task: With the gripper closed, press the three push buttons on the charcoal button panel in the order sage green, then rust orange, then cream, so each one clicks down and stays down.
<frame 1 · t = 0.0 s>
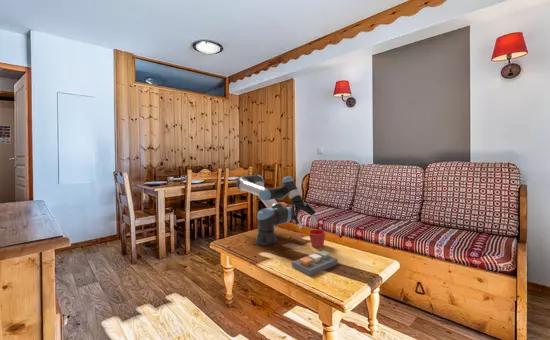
hand: (308, 226, 169), 15 cm above the table, fingers open, 13 cm apart
button panel: (315, 265, 147), on the table
flower pot: (317, 246, 177), on the table
sage button: (323, 255, 151), point 4 cm above the table, slide at 0.0 cm
rust button: (306, 261, 142), point 4 cm above the table, slide at 0.0 cm
cream button: (315, 258, 147), point 4 cm above the table, slide at 0.0 cm
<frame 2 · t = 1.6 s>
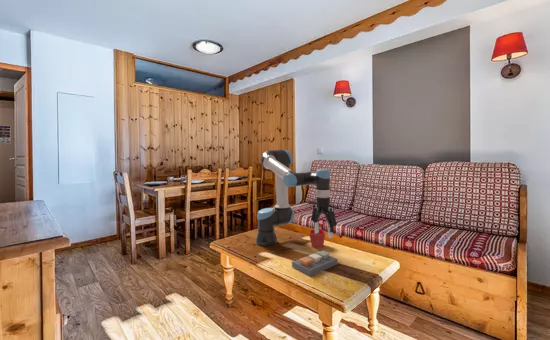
hand: (323, 235, 150), 16 cm above the table, fingers open, 10 cm apart
nothing on the table moved.
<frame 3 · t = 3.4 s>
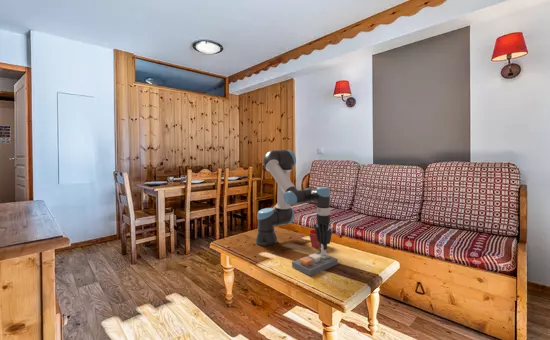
hand: (323, 254, 151), 4 cm above the table, fingers closed
sage button: (323, 257, 151), point 3 cm above the table, slide at 1.3 cm, touching gripper
everything else where it was.
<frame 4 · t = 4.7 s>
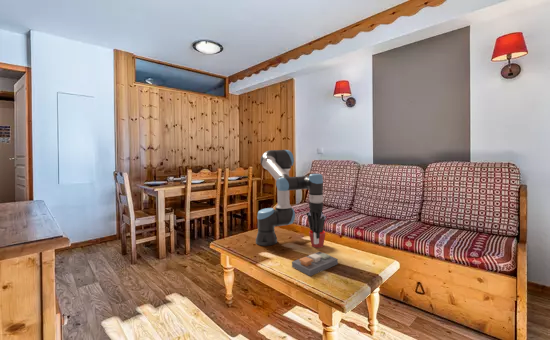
hand: (316, 243, 147), 12 cm above the table, fingers closed
sage button: (323, 257, 151), point 3 cm above the table, slide at 1.4 cm
everything else where it was.
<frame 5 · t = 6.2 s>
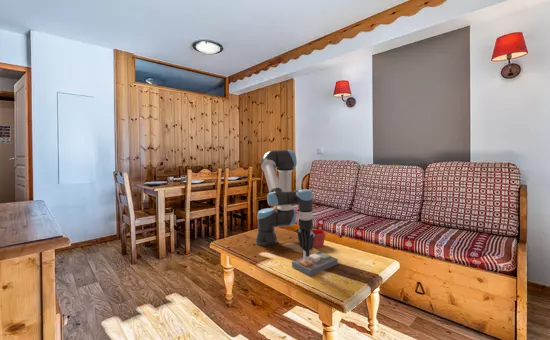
hand: (306, 261, 142), 4 cm above the table, fingers closed
rust button: (306, 264, 142), point 3 cm above the table, slide at 1.3 cm, touching gripper
everything else where it was.
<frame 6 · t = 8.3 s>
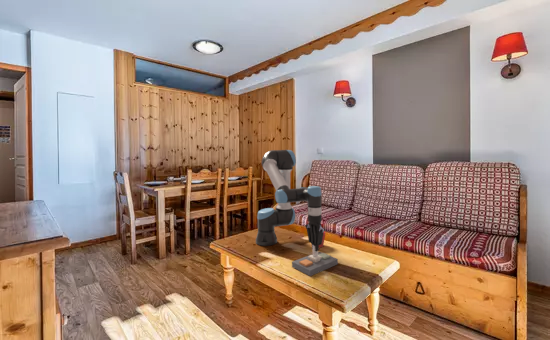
hand: (315, 256, 146), 6 cm above the table, fingers closed
rust button: (306, 264, 142), point 3 cm above the table, slide at 1.4 cm
cream button: (315, 258, 147), point 4 cm above the table, slide at 0.2 cm, touching gripper
everything else where it was.
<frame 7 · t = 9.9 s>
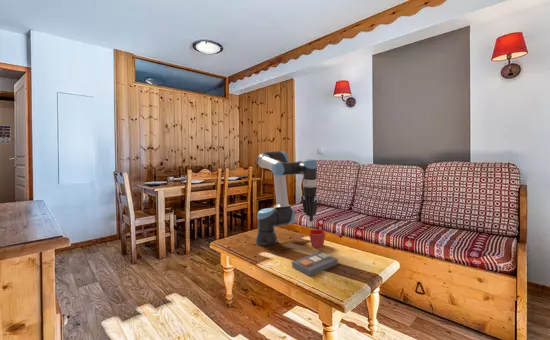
hand: (309, 226, 153), 20 cm above the table, fingers closed
cream button: (315, 260, 147), point 3 cm above the table, slide at 1.4 cm
everything else where it was.
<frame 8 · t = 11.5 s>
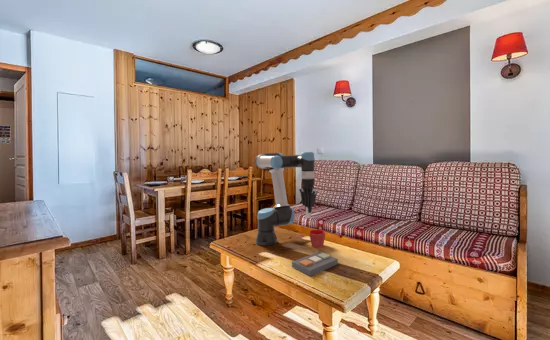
hand: (308, 217, 156), 24 cm above the table, fingers closed
nothing on the table moved.
at the end: sage button slide at 1.4 cm; rust button slide at 1.4 cm; cream button slide at 1.4 cm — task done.
